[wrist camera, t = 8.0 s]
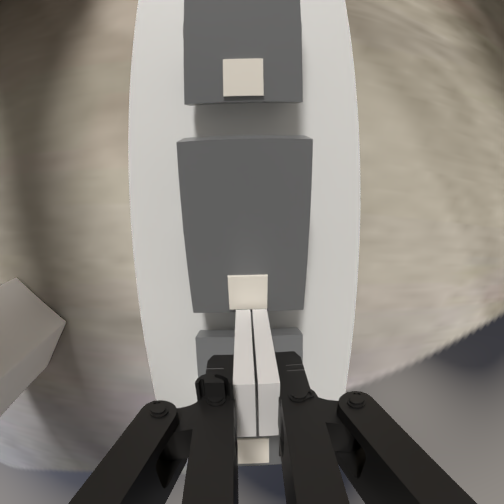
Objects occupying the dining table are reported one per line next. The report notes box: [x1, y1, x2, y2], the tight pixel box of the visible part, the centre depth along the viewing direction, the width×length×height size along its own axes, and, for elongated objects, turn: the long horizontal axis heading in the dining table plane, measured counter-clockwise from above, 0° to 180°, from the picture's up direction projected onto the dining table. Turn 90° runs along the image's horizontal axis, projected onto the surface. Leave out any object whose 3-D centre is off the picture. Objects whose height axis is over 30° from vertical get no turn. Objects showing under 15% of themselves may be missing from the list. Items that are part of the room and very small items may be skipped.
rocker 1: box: [183, 0, 303, 106], centre depth 14 cm, size 9×6×3 cm
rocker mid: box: [176, 135, 313, 313], centre depth 16 cm, size 9×6×3 cm
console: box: [128, 0, 360, 408], centre depth 21 cm, size 34×15×7 cm, turn 1°
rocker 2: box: [195, 327, 303, 466], centre depth 19 cm, size 9×6×3 cm
